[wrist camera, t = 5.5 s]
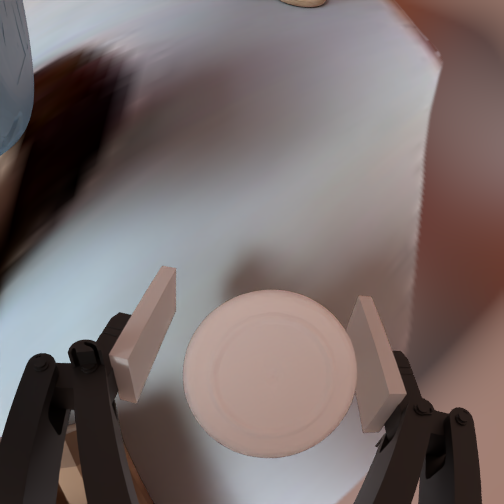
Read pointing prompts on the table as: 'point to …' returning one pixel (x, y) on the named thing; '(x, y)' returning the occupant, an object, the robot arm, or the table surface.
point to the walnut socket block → (70, 477)
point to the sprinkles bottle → (270, 373)
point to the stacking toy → (305, 2)
